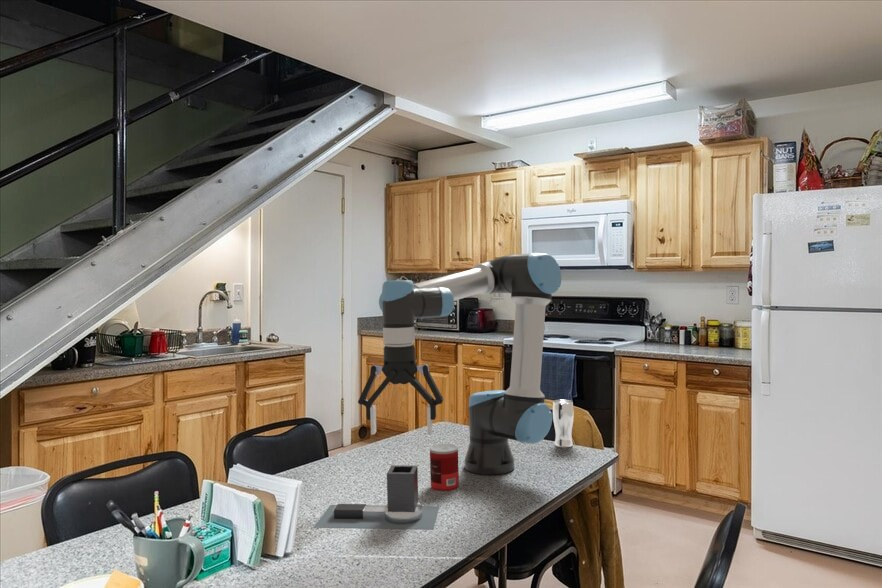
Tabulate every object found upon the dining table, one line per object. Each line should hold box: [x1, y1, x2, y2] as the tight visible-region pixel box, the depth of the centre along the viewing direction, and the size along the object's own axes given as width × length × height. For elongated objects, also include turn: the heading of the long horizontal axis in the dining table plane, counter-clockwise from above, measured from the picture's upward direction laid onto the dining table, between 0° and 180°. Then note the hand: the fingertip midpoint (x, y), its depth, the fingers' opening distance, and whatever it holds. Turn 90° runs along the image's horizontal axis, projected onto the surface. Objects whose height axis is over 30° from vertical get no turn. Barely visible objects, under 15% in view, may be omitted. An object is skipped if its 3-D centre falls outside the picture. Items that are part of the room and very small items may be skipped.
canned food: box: [429, 443, 460, 492], centre depth 163 cm, size 8×8×11 cm
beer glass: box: [552, 399, 575, 449], centre depth 202 cm, size 7×7×15 cm
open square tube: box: [386, 464, 419, 512], centre depth 142 cm, size 6×6×9 cm
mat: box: [312, 504, 440, 531], centre depth 143 cm, size 28×14×1 cm, turn 84°
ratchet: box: [332, 501, 423, 524], centre depth 143 cm, size 22×9×6 cm, turn 85°
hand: (401, 433), depth 142 cm, fingers open, 13 cm apart
